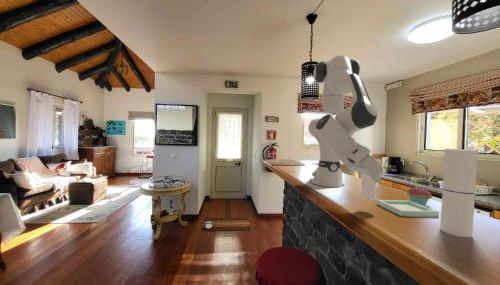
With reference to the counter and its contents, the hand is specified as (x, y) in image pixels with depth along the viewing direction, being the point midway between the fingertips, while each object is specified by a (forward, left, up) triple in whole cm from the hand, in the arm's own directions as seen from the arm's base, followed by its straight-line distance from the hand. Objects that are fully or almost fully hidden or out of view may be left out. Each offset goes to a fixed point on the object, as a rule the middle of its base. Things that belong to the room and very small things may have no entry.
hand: (372, 179), depth 85 cm
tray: (-1, +15, -12) cm, 19 cm away
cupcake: (-10, +28, -12) cm, 32 cm away
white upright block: (+1, -1, -7) cm, 8 cm away
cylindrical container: (+19, +15, -12) cm, 27 cm away
